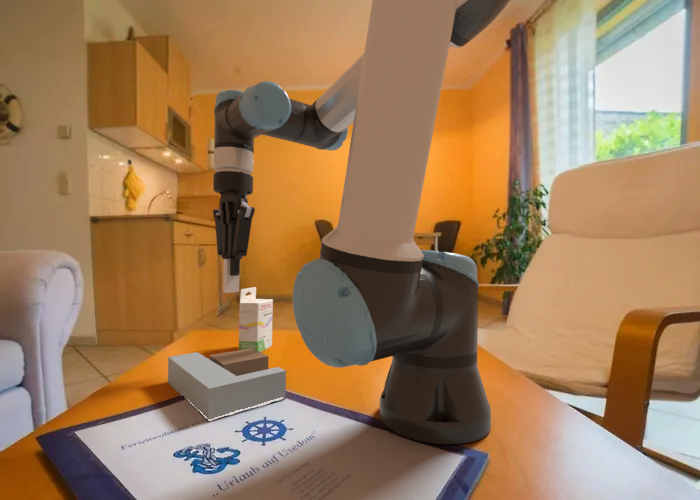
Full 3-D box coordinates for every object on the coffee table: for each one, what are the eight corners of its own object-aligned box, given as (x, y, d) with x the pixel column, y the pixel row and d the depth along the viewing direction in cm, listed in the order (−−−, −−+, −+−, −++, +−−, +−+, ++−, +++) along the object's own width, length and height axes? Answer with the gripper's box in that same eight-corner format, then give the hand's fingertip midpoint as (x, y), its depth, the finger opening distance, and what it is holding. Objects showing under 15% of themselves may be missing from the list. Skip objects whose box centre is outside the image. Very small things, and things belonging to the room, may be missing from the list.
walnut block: (268, 384, 64) (268, 356, 64) (223, 395, 59) (223, 364, 59) (251, 374, 70) (252, 348, 70) (209, 383, 65) (209, 355, 65)
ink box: (257, 354, 83) (258, 289, 83) (237, 353, 84) (238, 289, 84) (273, 345, 91) (273, 286, 91) (254, 344, 92) (255, 286, 92)
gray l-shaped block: (285, 399, 57) (285, 370, 57) (208, 421, 49) (209, 388, 49) (233, 368, 72) (233, 346, 72) (167, 382, 64) (168, 356, 64)
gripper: (267, 172, 70) (265, 294, 70) (235, 180, 79) (232, 287, 80) (231, 165, 65) (228, 297, 65) (201, 174, 74) (198, 289, 74)
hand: (231, 291), depth 72 cm, fingers closed
